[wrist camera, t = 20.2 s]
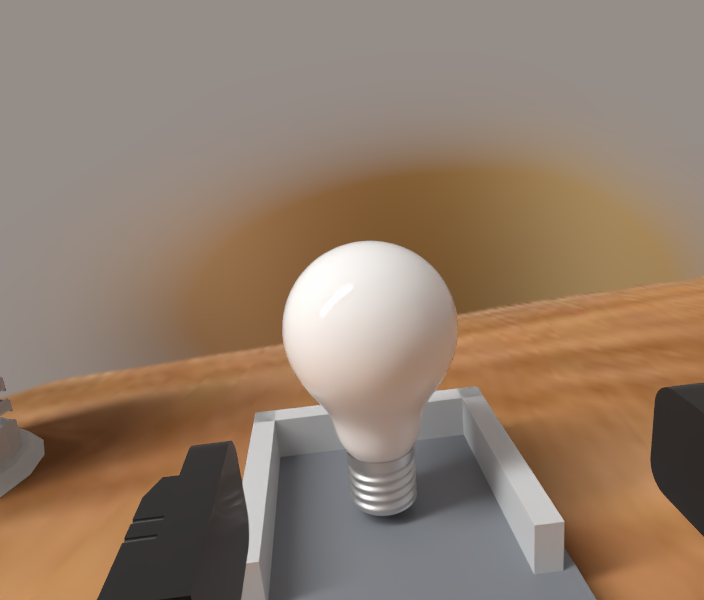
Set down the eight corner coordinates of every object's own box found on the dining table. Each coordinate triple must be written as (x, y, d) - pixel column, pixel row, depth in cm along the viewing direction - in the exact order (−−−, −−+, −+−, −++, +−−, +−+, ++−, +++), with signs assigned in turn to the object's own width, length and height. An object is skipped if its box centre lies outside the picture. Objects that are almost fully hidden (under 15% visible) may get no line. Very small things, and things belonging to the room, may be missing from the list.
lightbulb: (339, 454, 27) (314, 227, 23) (474, 471, 25) (467, 223, 21) (281, 549, 21) (236, 266, 18) (449, 580, 19) (435, 266, 16)
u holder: (256, 450, 30) (248, 399, 29) (479, 423, 30) (477, 372, 29) (214, 714, 16) (196, 635, 15) (614, 657, 17) (620, 578, 16)
